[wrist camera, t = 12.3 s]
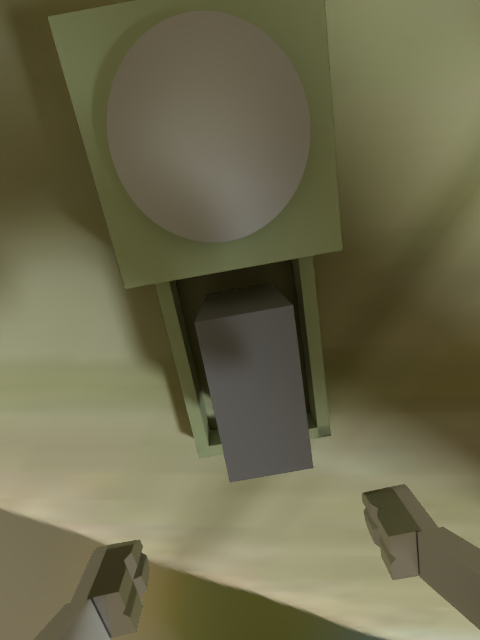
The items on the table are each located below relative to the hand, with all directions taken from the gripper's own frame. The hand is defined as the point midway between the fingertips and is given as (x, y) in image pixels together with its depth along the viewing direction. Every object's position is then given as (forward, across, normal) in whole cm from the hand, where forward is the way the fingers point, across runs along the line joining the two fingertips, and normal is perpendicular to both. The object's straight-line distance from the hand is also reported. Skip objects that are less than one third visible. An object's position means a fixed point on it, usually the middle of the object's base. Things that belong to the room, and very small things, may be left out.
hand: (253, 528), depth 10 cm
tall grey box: (+14, -1, -2) cm, 14 cm away
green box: (+14, -1, -9) cm, 16 cm away
